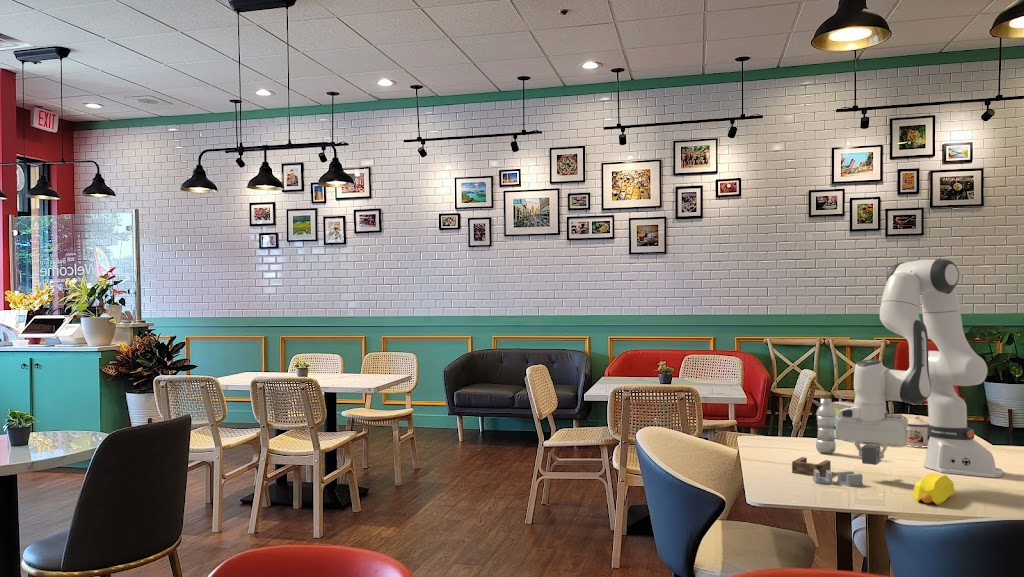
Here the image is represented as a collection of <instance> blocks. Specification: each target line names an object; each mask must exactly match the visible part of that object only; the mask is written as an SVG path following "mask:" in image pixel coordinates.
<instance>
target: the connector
mask: <svg viewBox="0 0 1024 577" xmlns="http://www.w3.org/2000/svg"><path fill="white" fill-rule="evenodd" d="M861 448H862V456H861V463H862V464H863V465H865V464H866V465H873V466H874V465H875V466H876V465H878V464H880V463H881V462H882V458H878V452H881V451H882V450H881V449H882V447H881V444H880V445H879V444H873V443H865V445H863V446H861Z"/></svg>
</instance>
